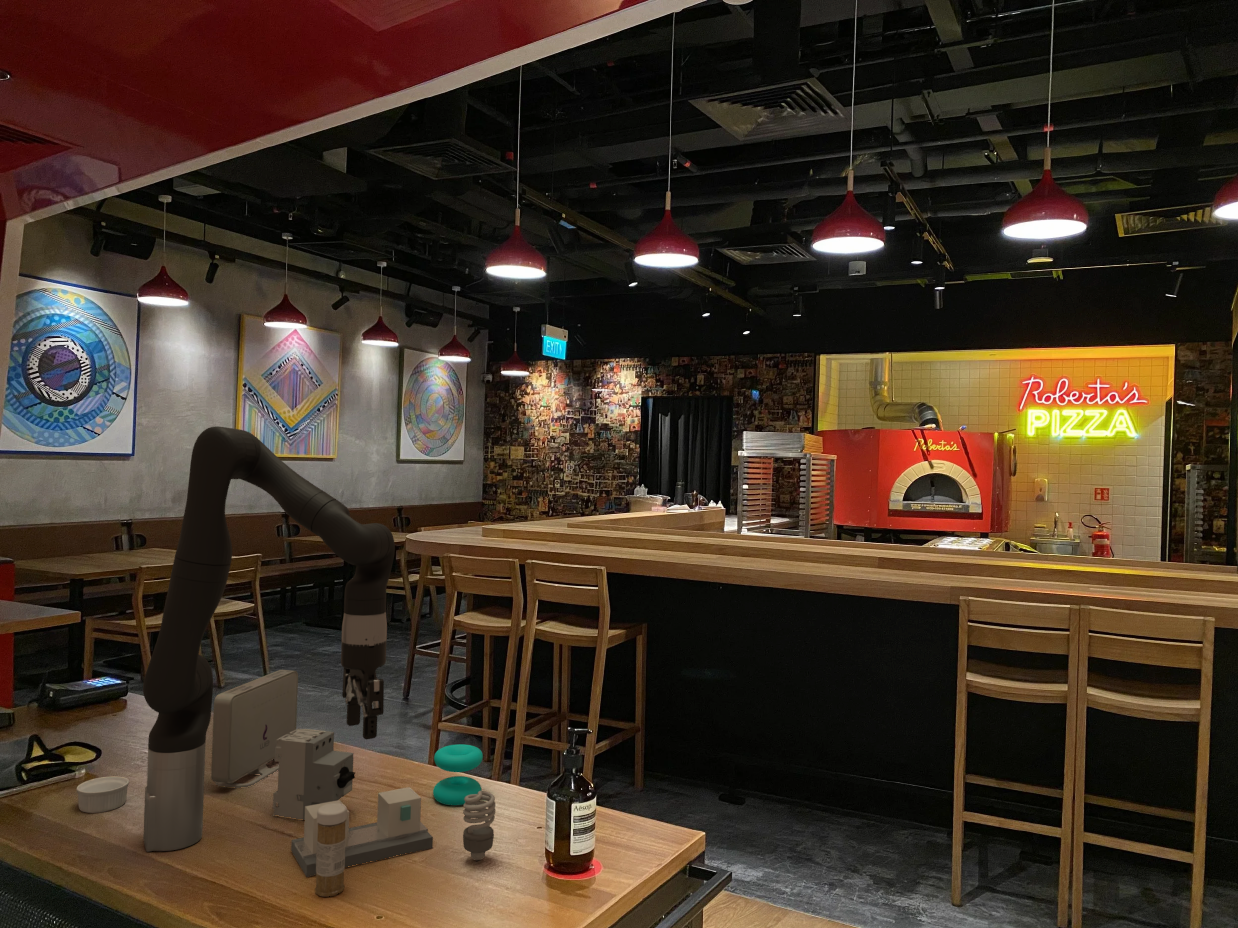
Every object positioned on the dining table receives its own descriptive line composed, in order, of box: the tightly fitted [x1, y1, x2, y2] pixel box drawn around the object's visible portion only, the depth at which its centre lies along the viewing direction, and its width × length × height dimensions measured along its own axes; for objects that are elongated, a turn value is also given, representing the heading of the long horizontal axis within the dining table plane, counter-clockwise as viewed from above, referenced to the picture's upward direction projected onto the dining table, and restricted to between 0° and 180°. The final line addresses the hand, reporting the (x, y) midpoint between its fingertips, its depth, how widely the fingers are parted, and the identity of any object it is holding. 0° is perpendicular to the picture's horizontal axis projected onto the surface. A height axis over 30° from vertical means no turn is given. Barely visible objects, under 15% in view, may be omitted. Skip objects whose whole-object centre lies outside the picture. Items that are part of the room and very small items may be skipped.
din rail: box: [295, 821, 429, 859], centre depth 152 cm, size 22×6×1 cm, turn 124°
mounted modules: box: [303, 786, 422, 854], centre depth 152 cm, size 19×7×6 cm, turn 124°
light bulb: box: [462, 790, 496, 862], centre depth 149 cm, size 6×6×12 cm
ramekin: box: [76, 775, 130, 814], centre depth 167 cm, size 9×9×4 cm
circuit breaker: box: [272, 727, 356, 820], centre depth 167 cm, size 8×14×15 cm, turn 78°
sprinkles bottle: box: [314, 803, 348, 898], centre depth 137 cm, size 5×5×14 cm
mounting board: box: [290, 821, 434, 878], centre depth 152 cm, size 22×11×2 cm, turn 124°
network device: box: [210, 669, 299, 789], centre depth 188 cm, size 26×9×20 cm, turn 170°
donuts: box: [432, 743, 484, 806], centre depth 177 cm, size 10×10×10 cm
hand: (361, 731), depth 148 cm, fingers open, 8 cm apart
